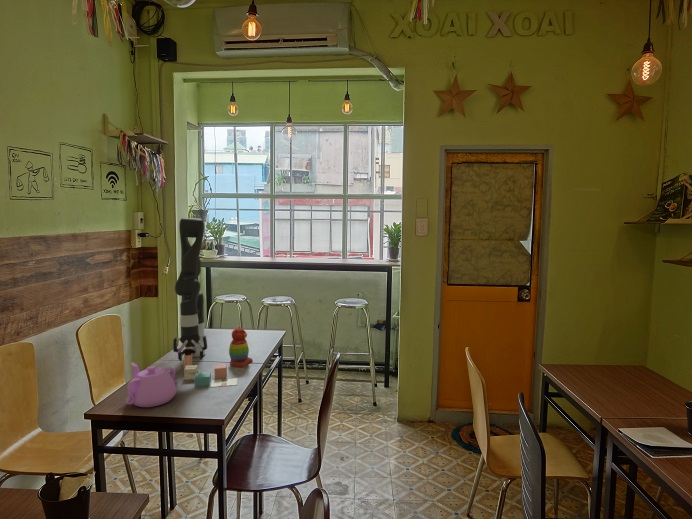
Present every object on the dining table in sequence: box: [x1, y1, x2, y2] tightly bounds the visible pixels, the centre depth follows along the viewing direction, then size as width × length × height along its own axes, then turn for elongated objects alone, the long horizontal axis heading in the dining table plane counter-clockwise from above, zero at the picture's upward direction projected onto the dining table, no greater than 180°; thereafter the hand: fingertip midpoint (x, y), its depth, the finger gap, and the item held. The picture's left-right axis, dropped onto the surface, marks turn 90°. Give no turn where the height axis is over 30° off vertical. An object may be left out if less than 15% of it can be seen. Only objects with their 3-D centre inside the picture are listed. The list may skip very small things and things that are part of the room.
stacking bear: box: [228, 326, 253, 368], centre depth 218 cm, size 11×10×18 cm
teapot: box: [125, 361, 178, 408], centre depth 175 cm, size 22×22×14 cm
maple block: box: [183, 364, 199, 381], centre depth 200 cm, size 5×5×5 cm
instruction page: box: [210, 377, 239, 388], centre depth 193 cm, size 8×11×1 cm
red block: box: [213, 363, 228, 380], centre depth 200 cm, size 5×5×5 cm
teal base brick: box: [194, 371, 212, 388], centre depth 192 cm, size 6×6×4 cm
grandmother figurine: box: [181, 347, 197, 370], centre depth 213 cm, size 8×4×13 cm, turn 117°
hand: (191, 359), depth 199 cm, fingers open, 8 cm apart
